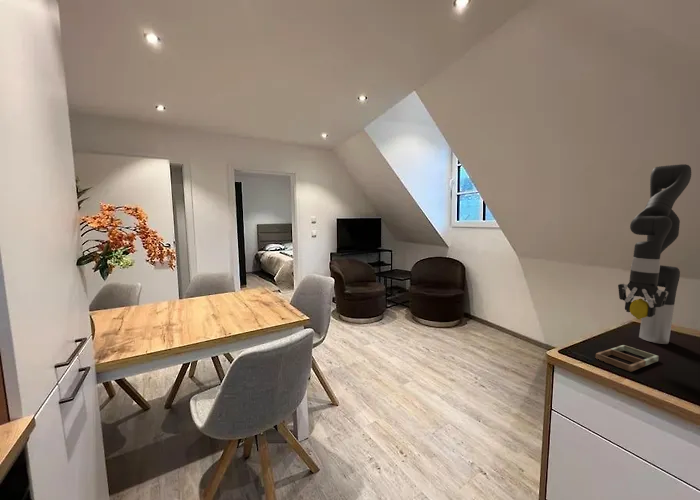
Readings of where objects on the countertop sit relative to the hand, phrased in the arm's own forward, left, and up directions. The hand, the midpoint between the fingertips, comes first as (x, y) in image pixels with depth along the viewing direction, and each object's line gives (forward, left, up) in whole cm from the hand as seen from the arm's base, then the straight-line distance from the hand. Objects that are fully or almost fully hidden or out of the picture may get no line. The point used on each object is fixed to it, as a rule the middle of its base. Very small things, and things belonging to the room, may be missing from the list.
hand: (638, 314), depth 112 cm
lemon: (0, 0, -2) cm, 2 cm away
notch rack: (+5, 0, -17) cm, 18 cm away
